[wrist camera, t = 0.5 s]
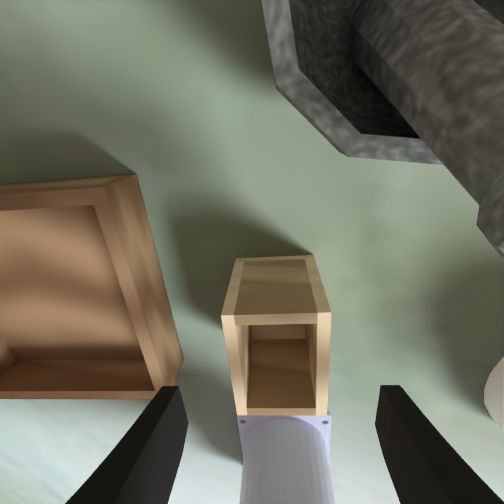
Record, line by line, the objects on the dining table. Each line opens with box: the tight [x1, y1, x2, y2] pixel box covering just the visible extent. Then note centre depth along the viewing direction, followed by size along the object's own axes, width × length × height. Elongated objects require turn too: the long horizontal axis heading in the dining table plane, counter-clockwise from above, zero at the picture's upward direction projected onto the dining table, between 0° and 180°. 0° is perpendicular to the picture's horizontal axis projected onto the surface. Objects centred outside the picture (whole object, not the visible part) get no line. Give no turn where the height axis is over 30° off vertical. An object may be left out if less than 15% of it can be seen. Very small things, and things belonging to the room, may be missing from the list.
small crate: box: [221, 255, 331, 416], centre depth 17 cm, size 7×5×6 cm
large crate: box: [0, 174, 183, 399], centre depth 19 cm, size 15×15×4 cm
